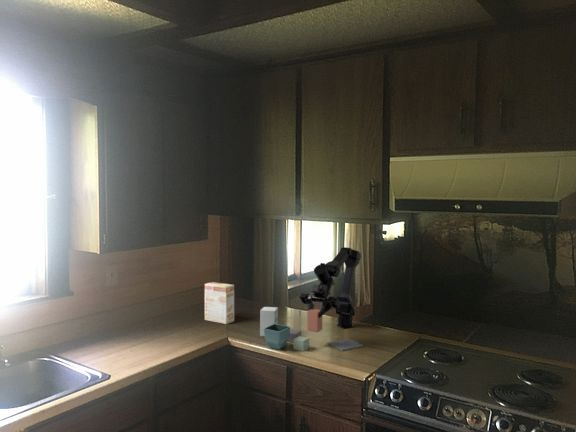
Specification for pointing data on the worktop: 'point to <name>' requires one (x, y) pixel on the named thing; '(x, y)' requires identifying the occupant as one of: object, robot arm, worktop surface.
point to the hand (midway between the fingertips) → (313, 316)
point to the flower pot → (276, 335)
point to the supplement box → (268, 318)
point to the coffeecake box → (219, 302)
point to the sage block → (301, 343)
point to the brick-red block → (314, 320)
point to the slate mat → (345, 344)
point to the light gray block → (293, 335)
